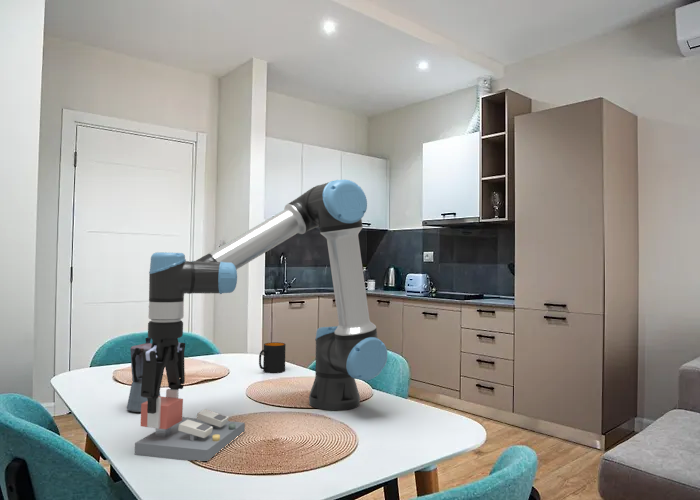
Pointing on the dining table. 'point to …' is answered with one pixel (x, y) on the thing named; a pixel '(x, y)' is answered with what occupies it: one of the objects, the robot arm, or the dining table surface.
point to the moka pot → (137, 376)
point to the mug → (273, 358)
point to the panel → (189, 442)
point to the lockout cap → (165, 412)
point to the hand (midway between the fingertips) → (162, 422)
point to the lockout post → (162, 432)
